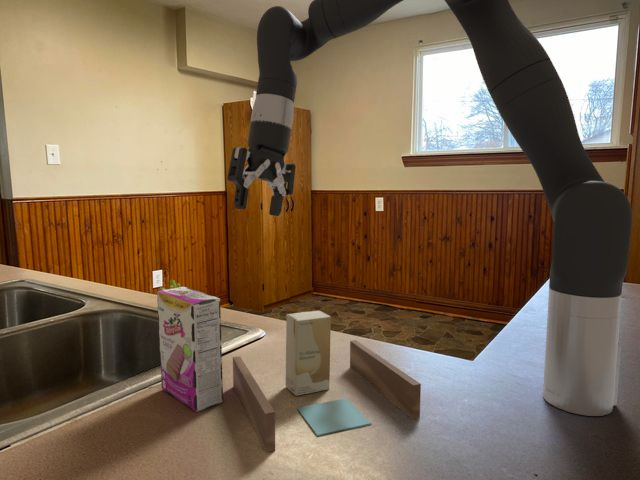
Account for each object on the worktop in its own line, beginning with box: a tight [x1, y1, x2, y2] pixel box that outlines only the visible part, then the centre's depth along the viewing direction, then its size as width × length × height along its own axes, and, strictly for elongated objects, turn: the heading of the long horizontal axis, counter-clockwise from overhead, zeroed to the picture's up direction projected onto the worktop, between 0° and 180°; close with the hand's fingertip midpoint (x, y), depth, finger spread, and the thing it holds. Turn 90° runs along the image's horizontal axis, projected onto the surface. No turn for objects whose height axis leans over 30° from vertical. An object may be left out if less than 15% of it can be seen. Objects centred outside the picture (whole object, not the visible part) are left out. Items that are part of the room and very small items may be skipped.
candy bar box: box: [156, 286, 224, 413], centre depth 69 cm, size 11×5×16 cm, turn 45°
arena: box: [232, 339, 422, 453], centre depth 68 cm, size 22×20×5 cm
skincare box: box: [285, 310, 332, 397], centre depth 72 cm, size 6×4×12 cm
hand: (257, 212), depth 82 cm, fingers open, 8 cm apart
